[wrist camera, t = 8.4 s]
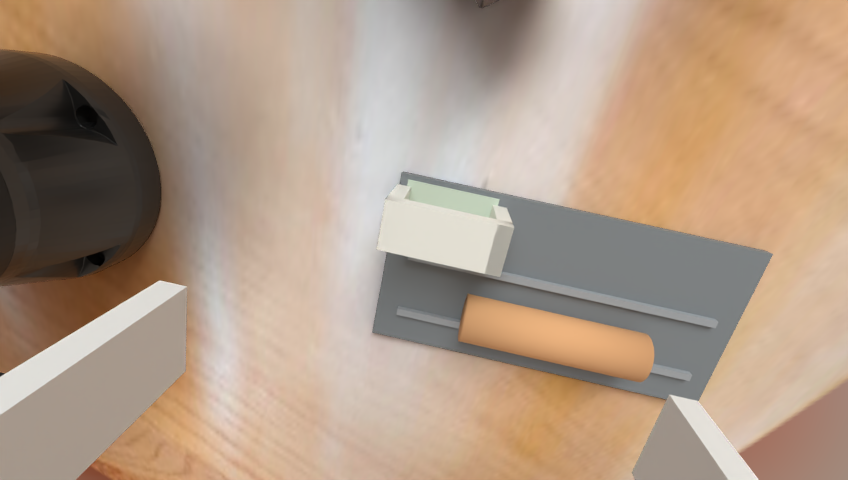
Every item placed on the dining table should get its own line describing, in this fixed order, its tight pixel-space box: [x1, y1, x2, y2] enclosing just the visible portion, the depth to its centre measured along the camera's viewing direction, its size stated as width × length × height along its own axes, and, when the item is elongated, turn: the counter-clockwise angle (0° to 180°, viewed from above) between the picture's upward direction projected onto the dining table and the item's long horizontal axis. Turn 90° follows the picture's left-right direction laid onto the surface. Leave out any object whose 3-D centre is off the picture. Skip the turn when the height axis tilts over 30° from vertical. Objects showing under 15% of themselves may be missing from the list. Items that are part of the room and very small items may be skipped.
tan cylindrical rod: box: [458, 294, 654, 382], centre depth 28 cm, size 12×3×3 cm, turn 79°
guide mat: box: [372, 172, 773, 401], centre depth 29 cm, size 24×12×1 cm, turn 79°
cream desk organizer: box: [376, 184, 514, 277], centre depth 26 cm, size 3×7×4 cm, turn 79°
